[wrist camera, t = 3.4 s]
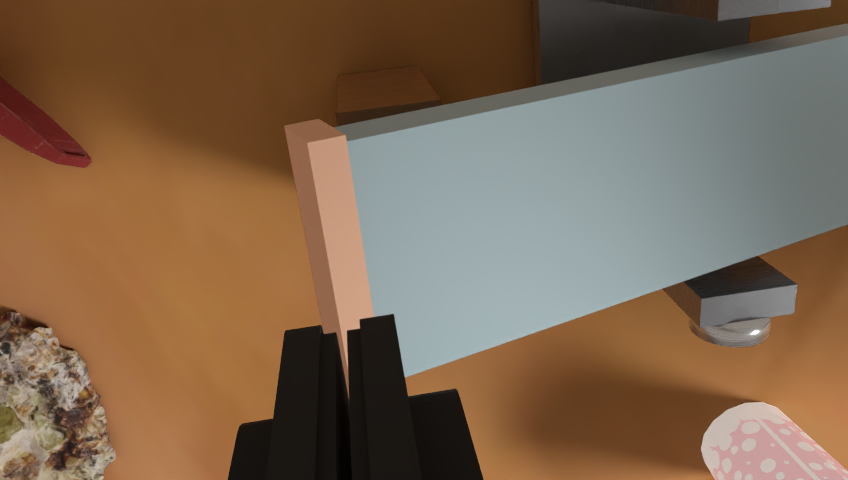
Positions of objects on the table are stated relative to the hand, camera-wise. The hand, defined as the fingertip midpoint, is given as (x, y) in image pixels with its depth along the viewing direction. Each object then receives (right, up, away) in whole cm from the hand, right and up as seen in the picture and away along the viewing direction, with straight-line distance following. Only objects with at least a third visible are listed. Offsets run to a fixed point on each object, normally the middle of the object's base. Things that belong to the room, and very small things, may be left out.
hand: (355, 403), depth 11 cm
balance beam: (+10, +5, +9) cm, 15 cm away
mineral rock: (-16, -5, +20) cm, 26 cm away
